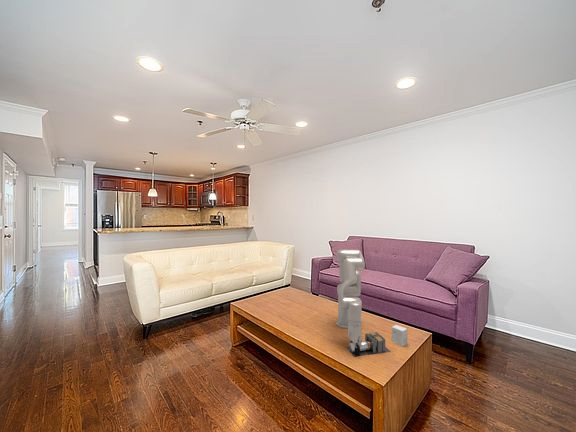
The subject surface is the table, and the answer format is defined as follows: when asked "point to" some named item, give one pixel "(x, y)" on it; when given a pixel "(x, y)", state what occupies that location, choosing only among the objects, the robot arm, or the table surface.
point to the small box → (399, 335)
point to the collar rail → (373, 345)
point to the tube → (365, 346)
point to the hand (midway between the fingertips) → (354, 350)
